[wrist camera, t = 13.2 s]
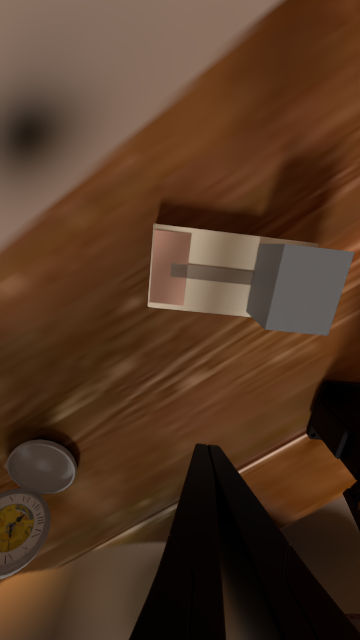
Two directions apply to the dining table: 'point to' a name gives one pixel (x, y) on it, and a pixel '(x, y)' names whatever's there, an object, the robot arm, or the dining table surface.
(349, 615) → the barrel
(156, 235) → the cream flat rectangular block
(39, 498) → the pocket watch
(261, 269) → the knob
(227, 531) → the robot arm
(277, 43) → the dining table surface
